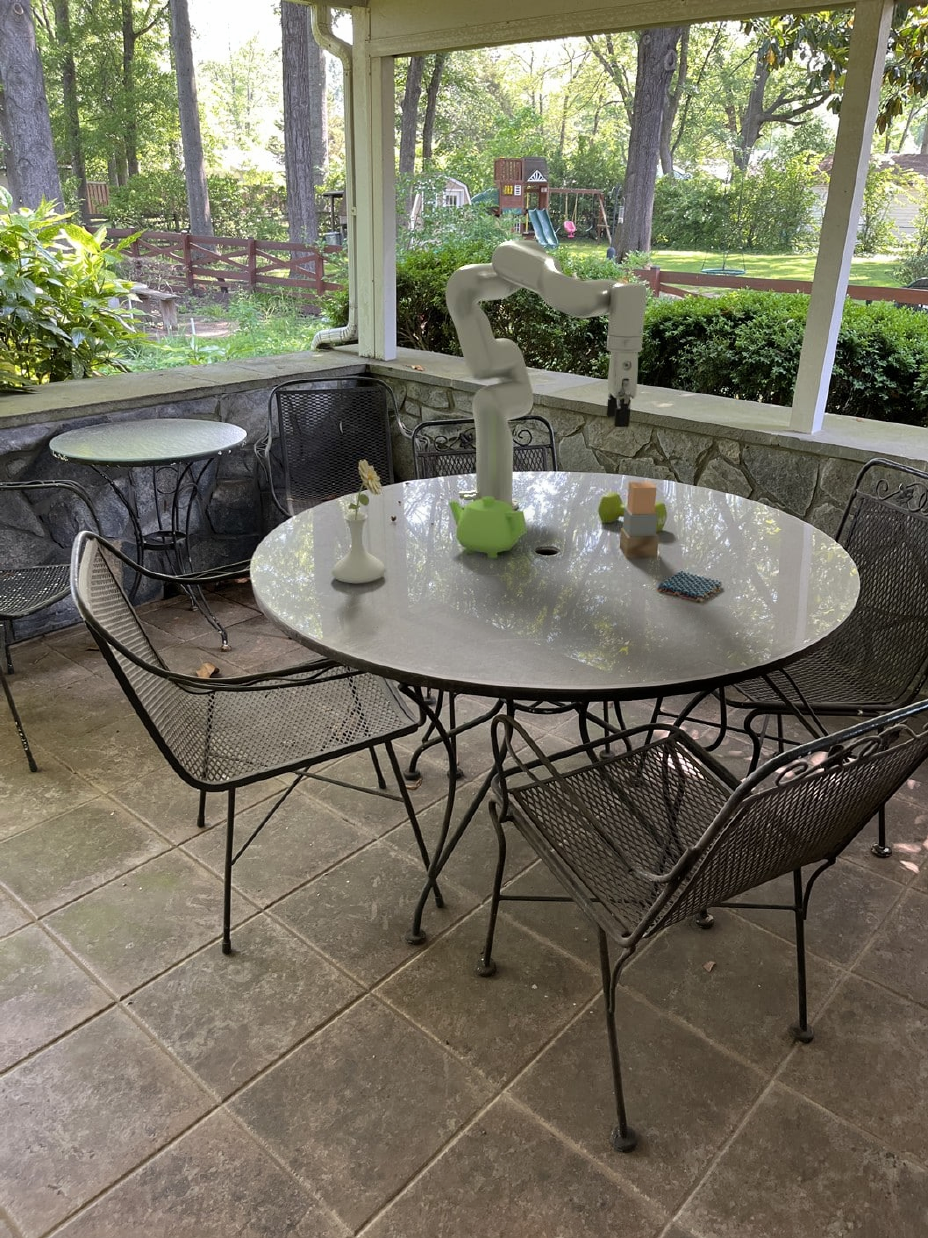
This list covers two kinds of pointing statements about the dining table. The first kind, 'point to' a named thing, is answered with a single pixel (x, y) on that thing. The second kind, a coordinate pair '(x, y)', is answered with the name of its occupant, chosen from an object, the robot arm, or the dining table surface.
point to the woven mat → (689, 586)
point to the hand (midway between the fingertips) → (617, 421)
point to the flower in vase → (360, 537)
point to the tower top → (639, 524)
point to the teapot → (488, 525)
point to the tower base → (639, 546)
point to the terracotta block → (641, 497)
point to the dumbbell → (614, 509)
